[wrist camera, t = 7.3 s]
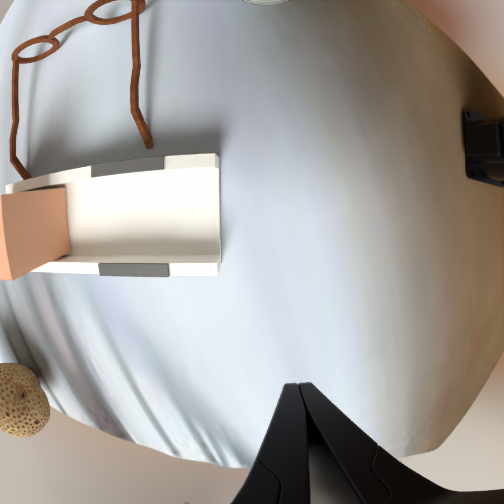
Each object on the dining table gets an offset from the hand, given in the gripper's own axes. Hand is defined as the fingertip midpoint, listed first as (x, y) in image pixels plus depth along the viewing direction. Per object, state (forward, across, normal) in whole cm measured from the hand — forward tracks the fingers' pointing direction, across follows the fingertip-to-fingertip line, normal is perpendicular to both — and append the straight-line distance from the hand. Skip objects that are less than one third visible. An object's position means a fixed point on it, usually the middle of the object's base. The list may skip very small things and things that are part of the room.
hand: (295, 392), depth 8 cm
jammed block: (+11, +18, -4) cm, 21 cm away
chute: (+12, +12, -4) cm, 17 cm away
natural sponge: (+11, +27, +14) cm, 33 cm away
